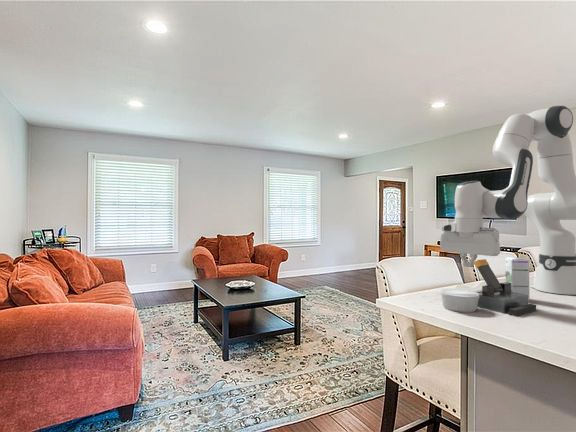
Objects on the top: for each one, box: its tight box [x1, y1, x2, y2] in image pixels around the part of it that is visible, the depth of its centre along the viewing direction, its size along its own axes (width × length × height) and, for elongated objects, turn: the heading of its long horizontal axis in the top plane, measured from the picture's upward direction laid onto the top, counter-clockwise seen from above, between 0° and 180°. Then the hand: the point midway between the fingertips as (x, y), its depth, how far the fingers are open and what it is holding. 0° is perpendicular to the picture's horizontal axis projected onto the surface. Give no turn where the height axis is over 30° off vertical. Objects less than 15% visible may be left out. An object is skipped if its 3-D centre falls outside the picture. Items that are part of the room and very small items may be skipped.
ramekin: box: [439, 288, 480, 313], centre depth 111 cm, size 11×11×5 cm
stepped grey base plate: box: [473, 281, 529, 314], centre depth 114 cm, size 14×12×7 cm
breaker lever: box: [473, 258, 503, 293], centre depth 117 cm, size 5×2×11 cm
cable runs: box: [508, 303, 537, 317], centre depth 115 cm, size 13×22×2 cm, turn 31°
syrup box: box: [504, 256, 530, 302], centre depth 124 cm, size 6×6×14 cm
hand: (468, 266), depth 123 cm, fingers closed
